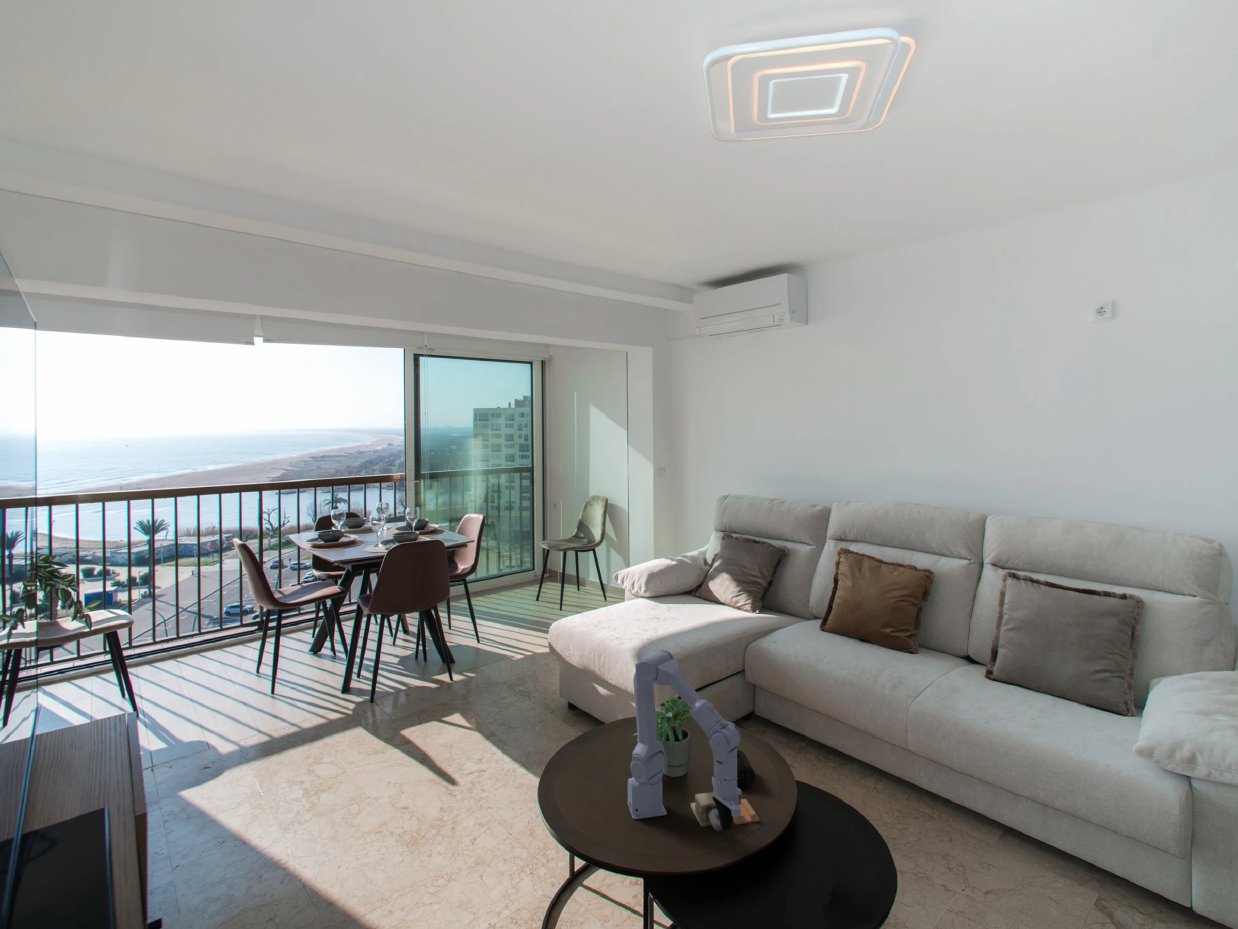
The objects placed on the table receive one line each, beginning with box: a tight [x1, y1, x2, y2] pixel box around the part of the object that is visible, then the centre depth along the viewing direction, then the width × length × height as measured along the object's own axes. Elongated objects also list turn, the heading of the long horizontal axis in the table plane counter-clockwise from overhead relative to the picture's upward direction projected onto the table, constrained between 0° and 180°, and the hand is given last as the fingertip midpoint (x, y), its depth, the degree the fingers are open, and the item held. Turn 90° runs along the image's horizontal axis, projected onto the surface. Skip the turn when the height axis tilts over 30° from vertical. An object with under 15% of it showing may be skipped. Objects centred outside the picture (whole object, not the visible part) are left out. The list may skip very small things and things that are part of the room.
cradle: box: [732, 798, 761, 825], centre depth 162 cm, size 7×7×2 cm
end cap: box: [737, 749, 757, 790], centre depth 179 cm, size 10×7×7 cm
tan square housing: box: [690, 791, 716, 828], centre depth 162 cm, size 7×9×6 cm
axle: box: [706, 806, 724, 832], centre depth 159 cm, size 10×4×4 cm, turn 11°
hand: (725, 828), depth 150 cm, fingers closed
